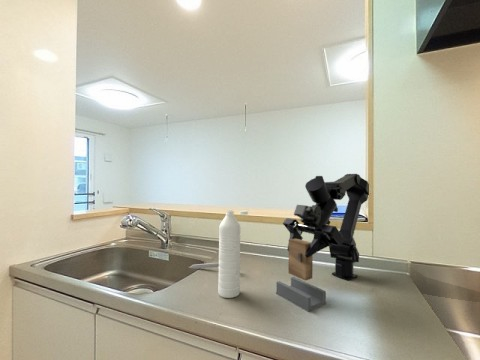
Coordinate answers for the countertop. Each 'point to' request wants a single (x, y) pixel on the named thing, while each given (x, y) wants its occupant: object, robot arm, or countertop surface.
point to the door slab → (300, 259)
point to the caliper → (204, 265)
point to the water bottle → (229, 256)
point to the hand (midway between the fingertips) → (296, 253)
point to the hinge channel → (302, 294)
